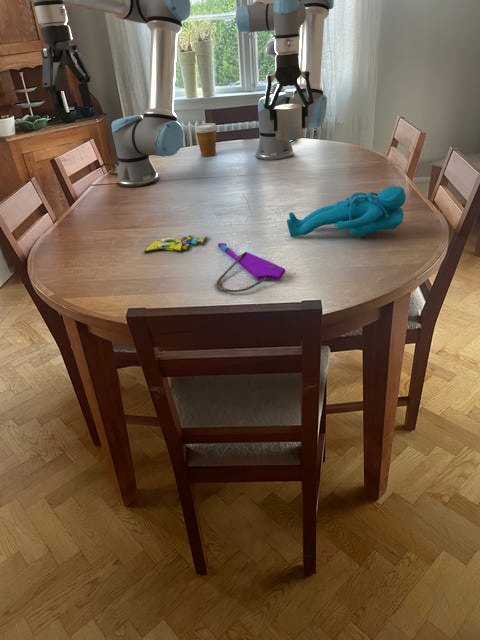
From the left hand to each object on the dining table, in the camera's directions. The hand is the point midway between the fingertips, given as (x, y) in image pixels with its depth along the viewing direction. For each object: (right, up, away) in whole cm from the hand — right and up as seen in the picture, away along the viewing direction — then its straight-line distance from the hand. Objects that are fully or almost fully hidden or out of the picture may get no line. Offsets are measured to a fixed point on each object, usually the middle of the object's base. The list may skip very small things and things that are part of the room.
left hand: (75, 112), depth 137 cm
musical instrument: (+46, -48, -22) cm, 70 cm away
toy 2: (+75, -37, -9) cm, 84 cm away
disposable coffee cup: (+33, +13, +74) cm, 82 cm away
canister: (+64, +3, +27) cm, 69 cm away
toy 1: (+30, -39, -6) cm, 49 cm away
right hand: (+64, +5, +25) cm, 69 cm away
